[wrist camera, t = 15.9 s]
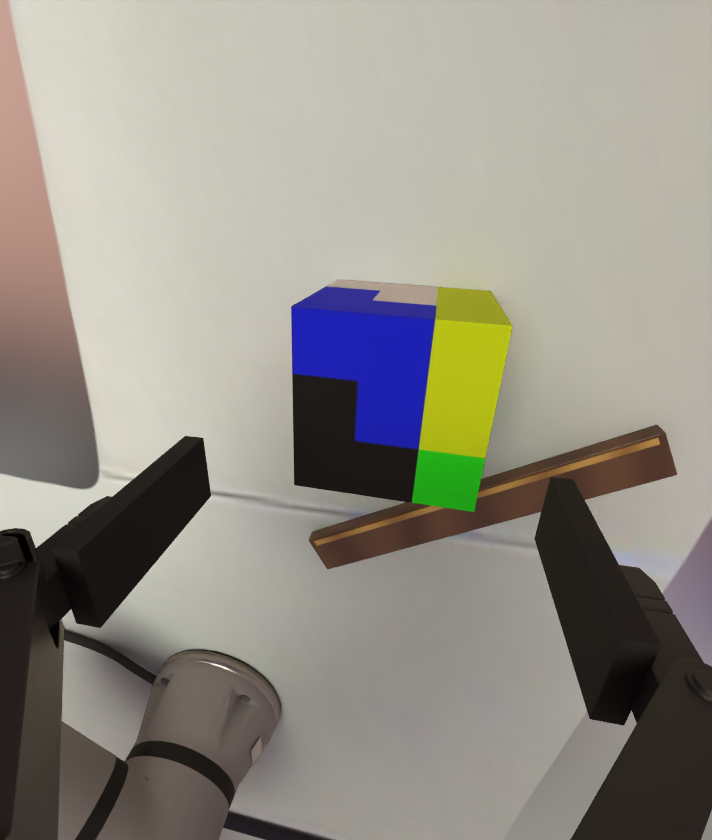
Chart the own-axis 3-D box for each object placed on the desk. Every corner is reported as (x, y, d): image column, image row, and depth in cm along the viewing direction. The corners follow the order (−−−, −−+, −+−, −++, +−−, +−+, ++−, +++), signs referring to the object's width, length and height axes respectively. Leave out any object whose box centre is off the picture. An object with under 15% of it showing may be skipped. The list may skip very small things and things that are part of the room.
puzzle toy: (338, 279, 29) (291, 306, 20) (490, 290, 28) (512, 326, 19) (334, 413, 33) (294, 485, 24) (465, 429, 32) (474, 512, 23)
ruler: (330, 560, 40) (326, 570, 39) (312, 531, 39) (308, 541, 38) (669, 466, 30) (678, 475, 29) (657, 424, 29) (666, 432, 28)
